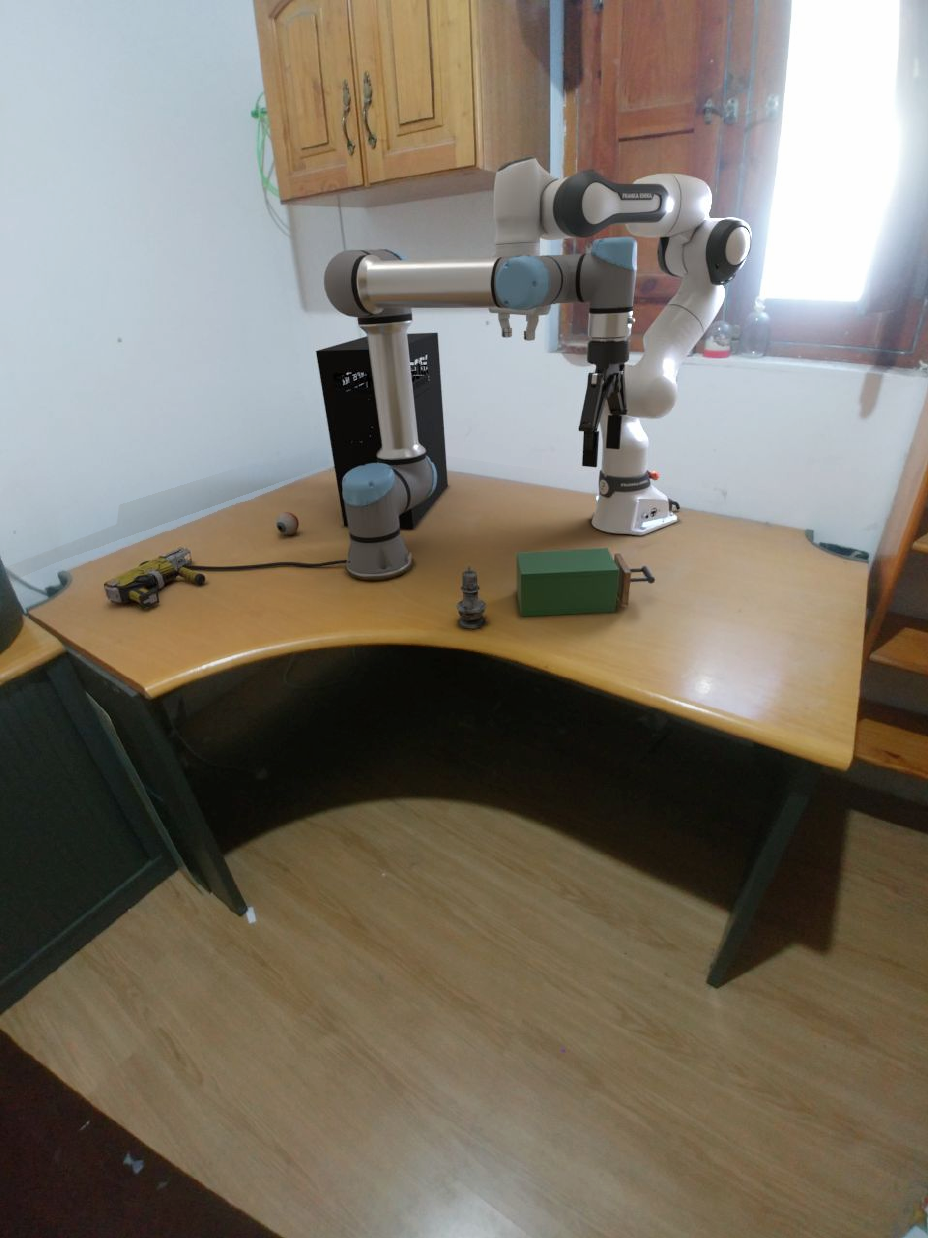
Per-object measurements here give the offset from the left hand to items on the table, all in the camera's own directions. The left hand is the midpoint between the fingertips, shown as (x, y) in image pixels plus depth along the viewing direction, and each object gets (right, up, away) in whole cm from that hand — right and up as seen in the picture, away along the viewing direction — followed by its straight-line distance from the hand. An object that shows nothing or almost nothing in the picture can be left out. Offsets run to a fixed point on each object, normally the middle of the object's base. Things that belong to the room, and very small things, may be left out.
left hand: (601, 457), depth 119 cm
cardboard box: (-46, +2, +63) cm, 78 cm away
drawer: (-1, -27, +5) cm, 28 cm away
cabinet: (-6, -28, +5) cm, 30 cm away
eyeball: (-75, -9, +46) cm, 89 cm away
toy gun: (-95, -24, +22) cm, 101 cm away
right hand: (-16, +26, +6) cm, 31 cm away
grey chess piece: (-26, -33, 0) cm, 41 cm away
